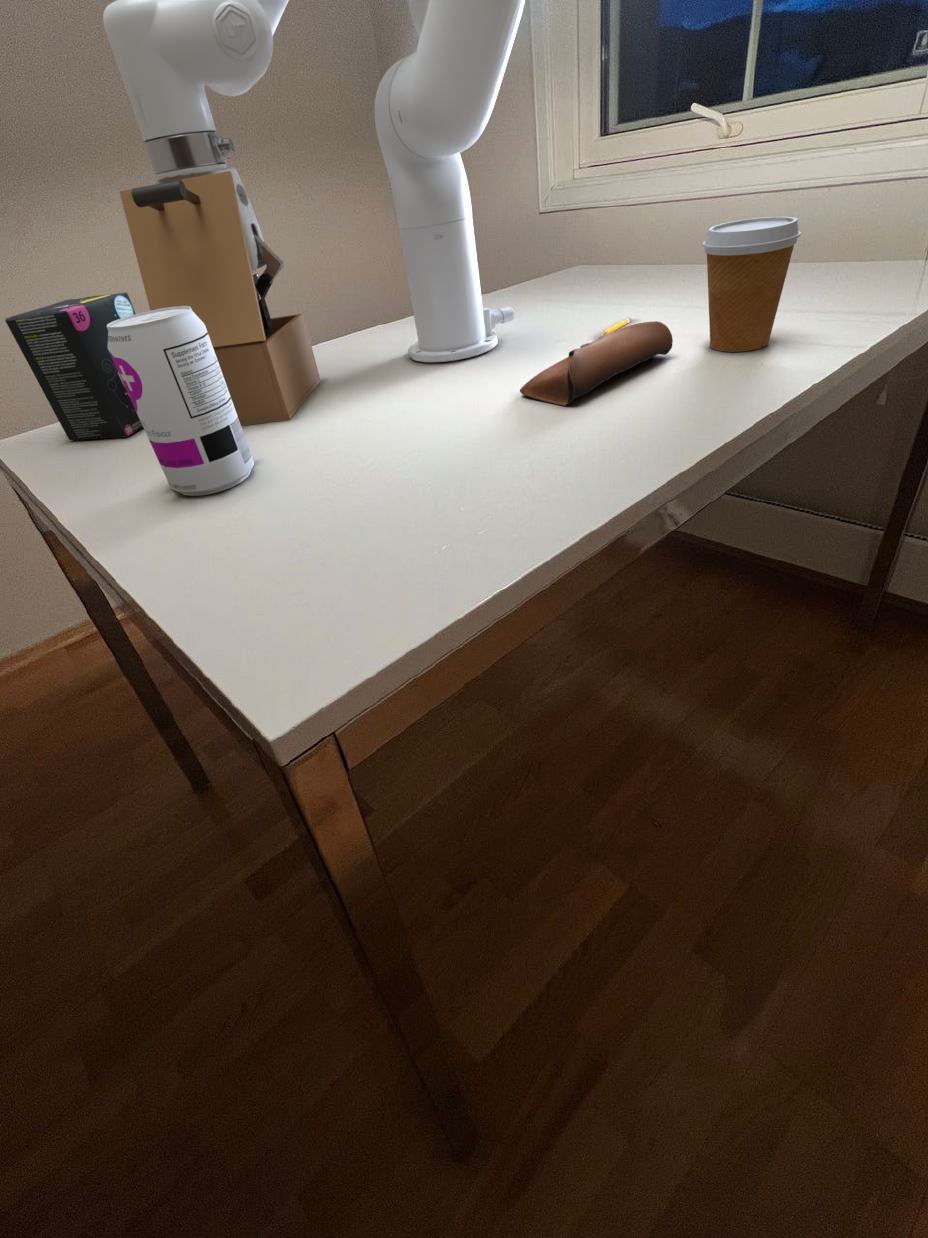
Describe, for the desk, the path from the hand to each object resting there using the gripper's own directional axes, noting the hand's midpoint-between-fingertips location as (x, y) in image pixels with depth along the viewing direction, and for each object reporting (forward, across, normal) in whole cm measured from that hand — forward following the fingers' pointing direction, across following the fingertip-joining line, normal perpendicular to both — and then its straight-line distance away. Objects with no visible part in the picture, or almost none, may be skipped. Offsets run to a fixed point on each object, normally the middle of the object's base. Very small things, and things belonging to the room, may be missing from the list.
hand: (245, 337), depth 78 cm
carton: (+8, 0, +2) cm, 8 cm away
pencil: (+8, -47, -12) cm, 49 cm away
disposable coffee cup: (+8, -59, +2) cm, 60 cm away
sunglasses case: (+8, -42, +8) cm, 44 cm away
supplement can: (+8, -3, +25) cm, 27 cm away
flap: (-9, 0, +7) cm, 11 cm away
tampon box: (+8, +19, +3) cm, 21 cm away
